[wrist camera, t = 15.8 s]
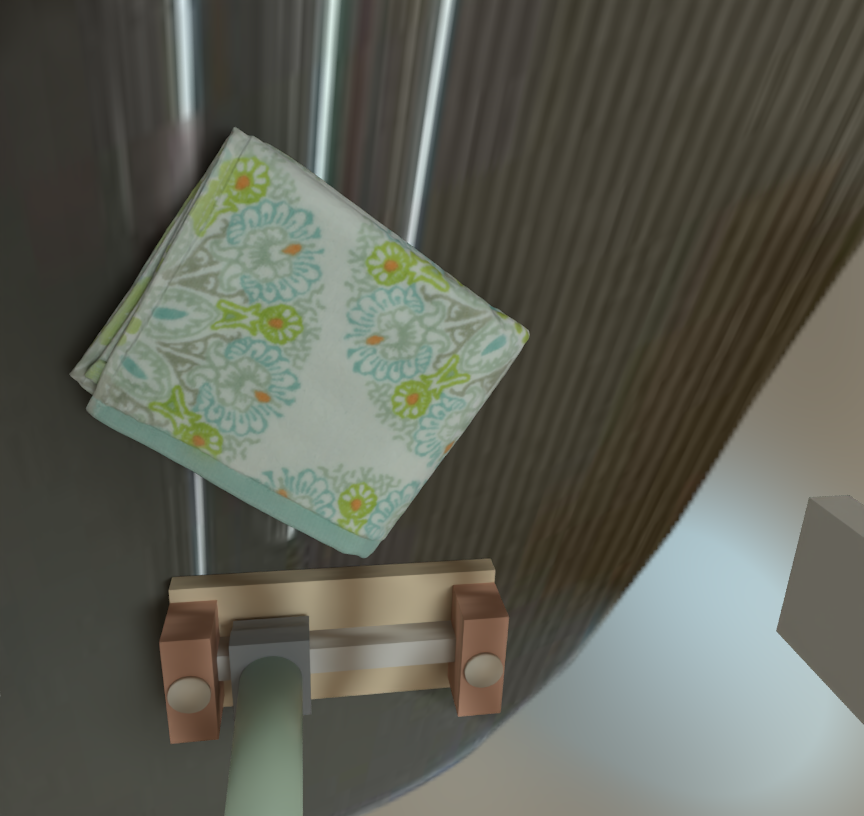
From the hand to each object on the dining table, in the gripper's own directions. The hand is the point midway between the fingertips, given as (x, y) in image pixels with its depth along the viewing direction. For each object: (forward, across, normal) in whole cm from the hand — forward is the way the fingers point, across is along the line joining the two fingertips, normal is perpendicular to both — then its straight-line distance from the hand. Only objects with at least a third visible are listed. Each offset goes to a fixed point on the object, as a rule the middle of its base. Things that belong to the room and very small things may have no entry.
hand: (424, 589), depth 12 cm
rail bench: (+34, 0, -27) cm, 44 cm away
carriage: (+33, -5, -27) cm, 43 cm away
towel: (+35, -2, -6) cm, 36 cm away
